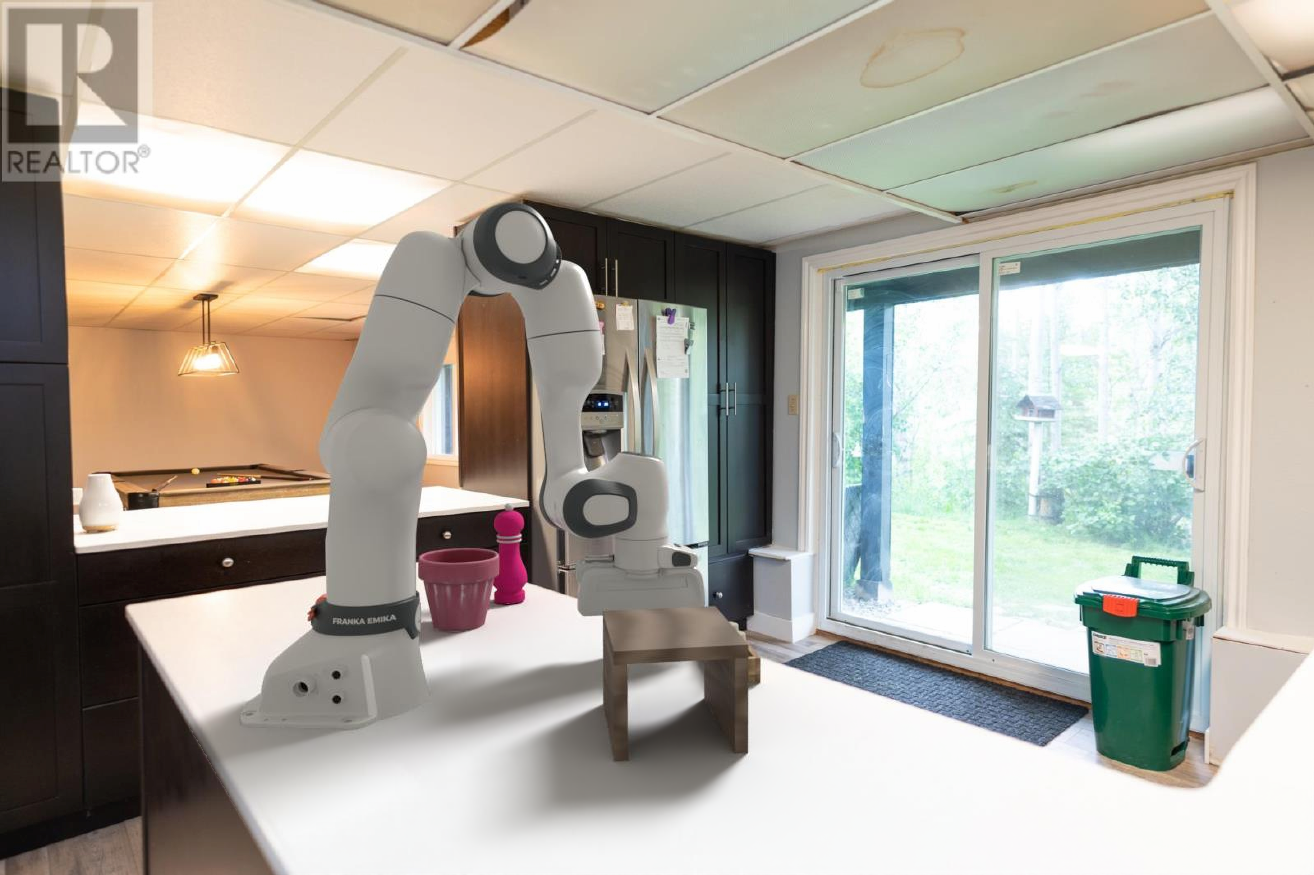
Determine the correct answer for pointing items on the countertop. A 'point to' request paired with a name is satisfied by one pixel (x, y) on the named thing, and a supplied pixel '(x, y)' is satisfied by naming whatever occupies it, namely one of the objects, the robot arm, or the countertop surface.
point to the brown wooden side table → (676, 641)
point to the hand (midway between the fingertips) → (641, 640)
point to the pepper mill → (509, 558)
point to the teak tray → (751, 660)
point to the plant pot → (458, 586)
